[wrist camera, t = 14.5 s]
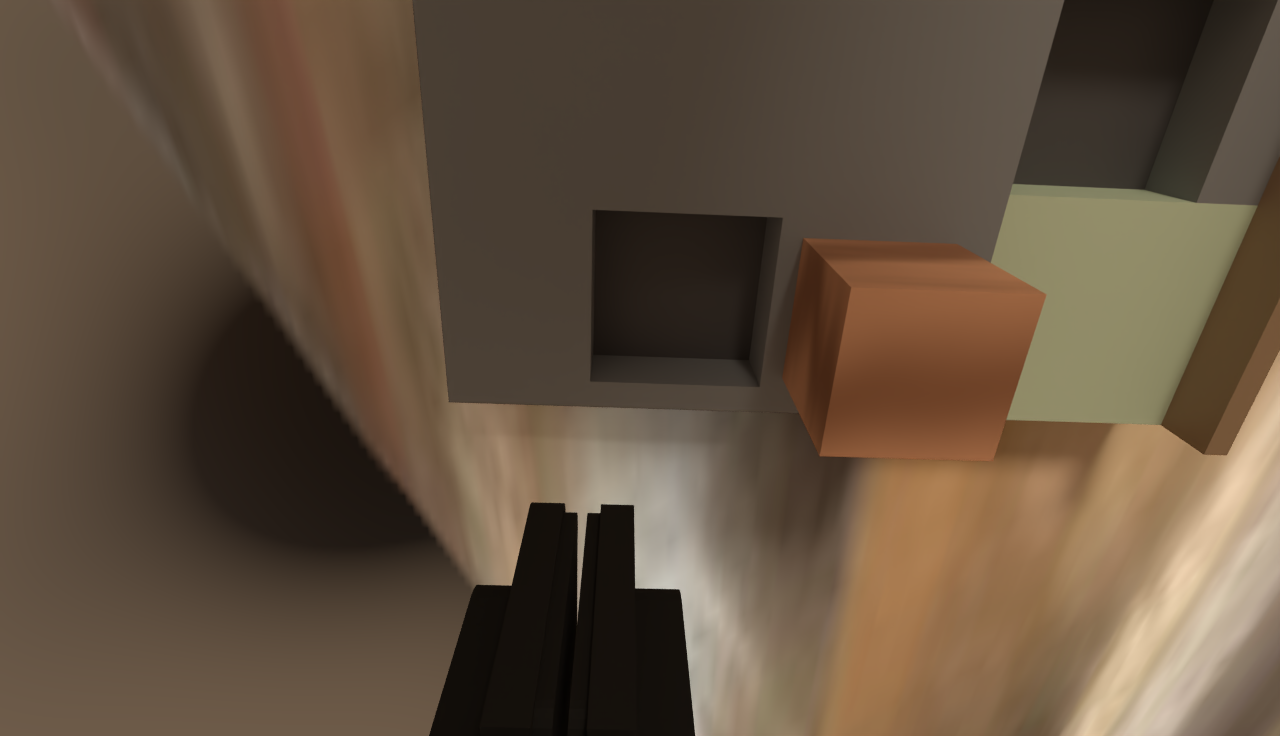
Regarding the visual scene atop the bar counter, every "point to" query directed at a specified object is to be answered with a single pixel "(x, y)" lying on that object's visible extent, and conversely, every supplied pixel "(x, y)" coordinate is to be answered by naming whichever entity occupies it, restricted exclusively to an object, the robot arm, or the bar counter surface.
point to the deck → (853, 190)
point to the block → (906, 348)
